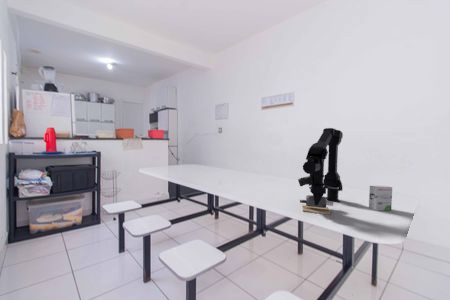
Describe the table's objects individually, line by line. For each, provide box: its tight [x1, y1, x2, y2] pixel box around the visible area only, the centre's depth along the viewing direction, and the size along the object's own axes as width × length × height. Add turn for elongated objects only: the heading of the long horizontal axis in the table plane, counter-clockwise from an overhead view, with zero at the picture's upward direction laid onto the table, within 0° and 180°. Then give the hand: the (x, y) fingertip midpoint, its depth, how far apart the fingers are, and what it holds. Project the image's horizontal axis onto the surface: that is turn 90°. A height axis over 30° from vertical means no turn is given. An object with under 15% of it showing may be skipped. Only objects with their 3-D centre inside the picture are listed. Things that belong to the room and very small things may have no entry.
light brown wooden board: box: [301, 204, 332, 216], centre depth 104 cm, size 10×12×1 cm
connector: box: [299, 194, 334, 208], centre depth 103 cm, size 4×15×4 cm, turn 72°
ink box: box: [368, 185, 393, 212], centre depth 107 cm, size 9×5×12 cm, turn 96°
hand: (315, 203), depth 104 cm, fingers closed on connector, 4 cm apart
